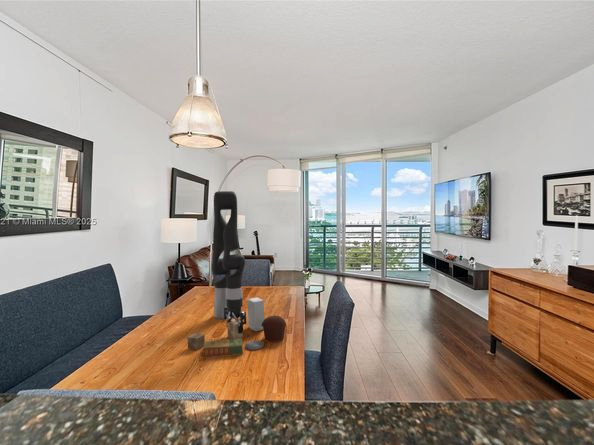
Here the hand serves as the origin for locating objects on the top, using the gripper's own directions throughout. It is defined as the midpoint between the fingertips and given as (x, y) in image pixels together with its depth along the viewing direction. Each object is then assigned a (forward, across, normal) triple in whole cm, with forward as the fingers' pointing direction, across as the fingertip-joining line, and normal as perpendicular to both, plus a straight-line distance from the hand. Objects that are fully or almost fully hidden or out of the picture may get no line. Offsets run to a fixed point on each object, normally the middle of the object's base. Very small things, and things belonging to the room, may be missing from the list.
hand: (234, 331), depth 147 cm
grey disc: (+3, +15, -1) cm, 15 cm away
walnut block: (+3, -4, -18) cm, 19 cm away
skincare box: (+3, -1, +14) cm, 15 cm away
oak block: (+3, 0, 0) cm, 3 cm away
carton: (+4, +9, -13) cm, 16 cm away
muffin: (+3, +15, +11) cm, 19 cm away
